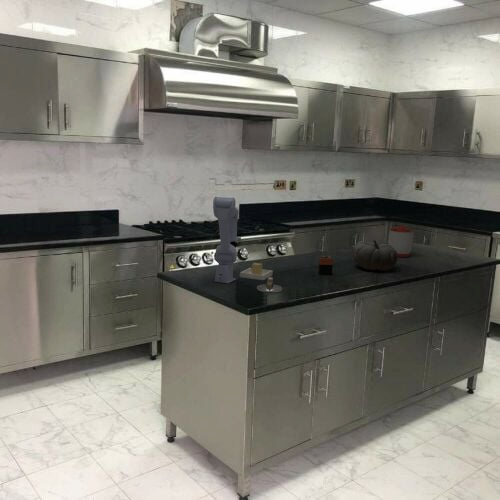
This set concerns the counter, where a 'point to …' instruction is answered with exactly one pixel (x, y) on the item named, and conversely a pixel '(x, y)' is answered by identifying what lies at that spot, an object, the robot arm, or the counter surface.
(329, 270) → the battery
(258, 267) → the stop block
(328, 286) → the counter surface
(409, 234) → the citrus juicer
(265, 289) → the crank base
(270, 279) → the crank lever
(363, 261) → the gourd
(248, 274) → the tray
